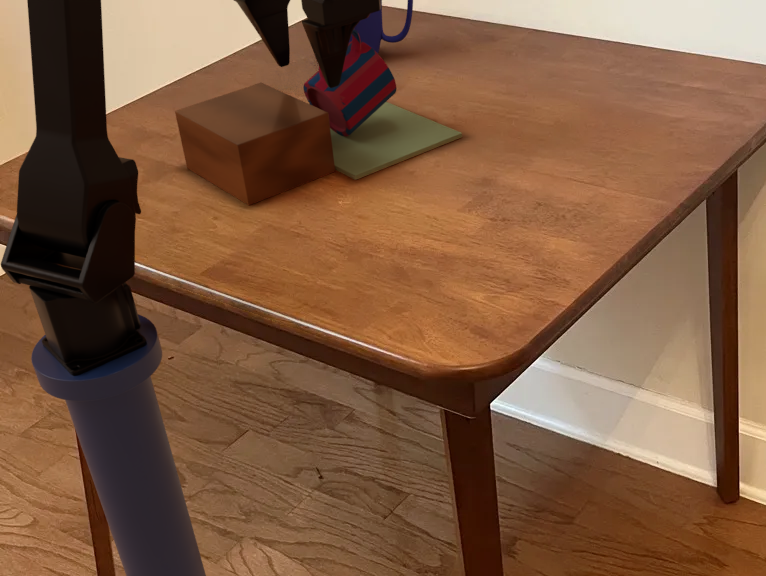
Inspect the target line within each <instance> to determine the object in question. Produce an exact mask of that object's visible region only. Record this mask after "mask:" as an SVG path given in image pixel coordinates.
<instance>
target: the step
mask: <svg viewBox="0 0 766 576" xmlns="http://www.w3.org/2000/svg"><path fill="white" fill-rule="evenodd" d="M174 114H175V119H176V123H177V128H178V132H179V137H180V142H181V146H182V150H183V156H184V160H185V164H186V169H188V170H190V171H191V172H192V173H195V174H196V175H198V176H199V177H201V178H203V179H204V180H206V181H208V182H210V183H211V184H212V185H214V186H216V187H218V188H219V189H220V190H223V191H224V192H226V193H228V194H229V195H231V196H233V197H234V198H236V199H237V200H239V201H240V202H243V203H244V204H246V205H248V206H251V205H254V204H256V203H259V202H261V201H264V200H267V199H269V198H272V197H274V196H277V195H279V194H281V193H285V192H287V191H289V190H292V189H294V188H296V187H297V188H298V187H299V186H302V185H304V184H305V185H306V184H307V183H310V182H312V181H315V180H317V179H320V178H322V177H325V176H327V175H331V174H332V173H335V172H336V170H335V165H334V156H333V148H332V140H331V132H330V123H329V115H328V112H326V111H323V110H321V109H319V108H317V107H315V106H312V105H310V104H309V102H306V101H304V100H301V99H300V98H297V97H294V96H292V95H291V94H288V93H285V92H283V91H281V90H279V89H276V88H275V87H272V86H270V85H267V84H266V83H264V82H258V83H255V84H252V85H250V86H246V87H243V88H240V89H237V90H234V91H230V92H228V93H225V94H221V95H219V96H216V97H213V98H210V99H206V100H204V101H201V102H197V103H194V104H191V105H188V106H185V107H183V108H180V109H179V108H178V109H176V110H174Z"/></svg>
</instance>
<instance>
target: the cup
mask: <svg viewBox="0 0 766 576" xmlns="http://www.w3.org/2000/svg"><path fill="white" fill-rule="evenodd" d="M397 88H398V87H397V82H396V79H395V77H394V74H393V73H392V70H391V69H390V67H389V65H388V64H387V62H386V61H384V59H383V58H382V57H381V55H380V54H379V52H378V53H377V52H376V51H375V50H373V49H372V48H371V47H370V46H369V45H367V44H366V43H364V42H362V41H361V40H360V36H359V34H358V32H357V31H356V30H355V29H353V31H352V41H351V42H350V43H349V44H348V48H347V52H346V57H345V61H344V66H343V71H342V75H341V80H340V84H339V85H338V86H336V87H333V88H330V87H328V85H327V83H326V81H325V79H324V77H323V74H322V72H321V70H320V67H319V66H318V70H317V71H316V72H315V73H314V74H313V75H312V76H311V77H309V78H308V80H306V81H305V82H304V83H303V93H304V96H305V98H306V100H307V103H308V104H310V105H312V106H315V107H317V108H319V109H321V110H323V111H326V112H328V115H329V123H330V128H331V129H332V130H333V131H334V132H336V133H337V134H339V135H341V136H349V135H350V134H351V133H352V132H354V131H355V130H356V129H357V128H358V127H359V126H360V125H361V124H362V123H363V122H364V121H366V120H367V119H368V118H369V117H370V116H371V115H372V114H373V113H374V112H375V111H376V110H378V109H379V108H380V107H381V106H382V105H383V104H384V103H385V102H388V101H389V100H390V99H391V98H392V97H393V96H394V95H396V93H397Z"/></svg>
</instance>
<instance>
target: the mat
mask: <svg viewBox="0 0 766 576" xmlns="http://www.w3.org/2000/svg"><path fill="white" fill-rule="evenodd" d="M330 132H331V140H332V148H333V156H334V165H335V171H337V172H339V173H341V174H343V175H344V176H347V177H349V178H350V179H352V180H359V179H361V178H364V177H366V176H370V175H371V174H374V173H376V172H379V171H382V170H385V169H386V168H389V167H392V166H394V165H397V164H399V163H401V162H404V161H406V160H409V159H411V158H414V157H417V156H419V155H422V154H424V153H426V152H430V151H431V150H434V149H436V148H439V147H441V146H444V145H446V144H449V143H451V142H453V141H457V140H458V139H461V138H463V133H462V132H461V131H458V130H456V129H453V128H452V127H449V126H447V125H444V124H442V123H440V122H437V121H434V120H432V119H430V118H427V117H425V116H423V115H419V114H417V113H415V112H413V111H410V110H408V109H405V108H403V107H400V106H398V105H396V104H393V103H391V102H388V101H386V102H385V103H384V104H383V105H382V106H381V107H380V108H379V109H378V110H376V111H375V112H374V113H373V114H372V115H371V116H370V117H369V118H368V119H367V120H366V121H364V122H363V123H362V124H361V125H360V126H359V127H358V128H357V129H356V130H355V131H354V132H352V133H351V134H350V135H349V136H341V135H339V134H337V133H336V132H334V131H333V130H332V129H331V128H330Z"/></svg>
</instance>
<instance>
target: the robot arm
mask: <svg viewBox="0 0 766 576" xmlns="http://www.w3.org/2000/svg"><path fill="white" fill-rule="evenodd" d="M233 1H234V2H236V3H237V5H238V6H239V7H240V9H241V11H242V12H243V14H244V15H245V16H246V18H247V20H248V21H249V23H250V24H251V25H252V26H253V28H254V30H255V31H256V33H257V34H258V36H259V37H260V39H261V40H262V42H263V43H264V45H265V47H266V48H267V50H268V51H269V53H270V55H271V56H272V58H273V59H274V61H275V63H276V64H277V66H278V67H279V68H283V67H288V66H289V65H290V64H291V63H290V61H291V59H290V58H291V57H290V56H291V55H290V54H291V52H290V51H291V49H290V47H291V46H290V32H289V31H290V30H289V29H290V27H289V11H288V8H289V4H290V2H291V0H233ZM300 1H301V8H302V11H303V12H304V15H305V16H306V19H303V20H301V25H302V27H303V30H304V32H305V34H306V37H307V39H308V41H309V43H310V44H309V45H310V46H311V49H312V52H313V54H314V57H315V59H316V62H317V65H318V68H319V67H320V70H321V72H322V74H323V77H324V79H325V81H326V83H327V85H328V87H330V88H333V87H336V86H338V85H339V84H340V80H341V75H342V71H343V66H344V61H345V57H346V52H347V48H348V44H349V40H350V37H351V34H352V31H353V29H354V28H355V27H356V25H357V24H358V23H359V22H360V20H363V19H366V18H368V17H369V15H370V13H374V12H377V11H380V9H381V1H380V0H300ZM26 2H27V14H28V15H27V16H28V27H29V28H28V30H29V31H28V32H29V42H30V55H31V56H30V58H31V72H32V86H33V98H34V99H33V100H34V115H35V126H36V127H35V128H36V129H35V137H34V139H33V141H32V143H31V146H30V147H29V149H28V152H26V155H25V157H24V160H23V161H22V163H21V165H20V166H19V170H18V183H17V200H16V214H15V218H14V222H13V224H12V228H11V230H10V233H9V237H8V240H7V243H6V246H5V249H4V253H3V255H2V259H1V262H0V267H1V270H3V271H4V273H5V275H7V276H8V278H9V279H10V281H12V283H13V284H18V285H25V286H28V288H29V291H30V295H31V297H32V300H33V303H34V305H35V309H36V312H37V315H38V317H39V320H40V323H41V326H42V328H43V333H44V335H46V337H45V338H43V339H42V344H43V346H44V347H45V348H46V349H47V350H48V351H49V352H50V353H51V354H52V355H53V357H54V358H55V359H56V360H57V361H58V362H59V363H60V364H61V365H62V366H63V367H64V368H65V369H66V370H67V371H68V372H69V373H70V374H71V375H72V376H78V375H81V374H83V373H85V372H88V371H90V370H92V369H94V368H97V367H99V366H101V365H103V364H106V363H108V362H110V361H113V360H115V359H117V358H119V357H122V356H124V355H126V354H128V353H131V352H133V351H135V350H137V349H140V348H142V347H144V346H146V344H147V342H146V339H145V337H144V336H142V335H141V334H140V333H139V332H138V331H137V330H138V329H140V326H141V324H140V320H139V317H138V314H139V313H138V310H137V307H136V306H137V305H136V303H135V299H134V295H133V292H132V287H131V285H130V284H129V283H128V281H129V280H131V279H133V277H134V276H135V274H136V225H137V217H136V215H141V213H142V209H141V206H140V203H139V197H138V183H139V182H138V181H139V170H138V166H137V162H136V161H135V160H134V159H132V158H126V157H120V156H119V155H118V153H117V152H116V150H115V147H114V146H113V145H112V142H111V141H110V139H109V135H108V124H107V123H108V122H107V121H108V120H107V102H106V101H107V99H106V79H105V57H104V56H105V55H104V35H103V34H104V33H103V13H102V12H103V11H102V0H26Z"/></svg>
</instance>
